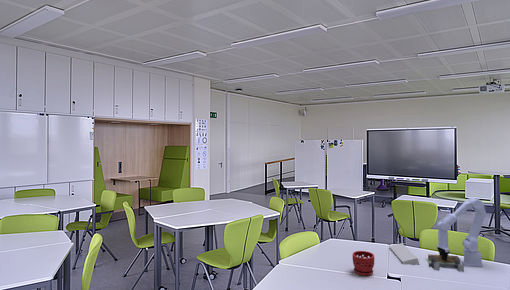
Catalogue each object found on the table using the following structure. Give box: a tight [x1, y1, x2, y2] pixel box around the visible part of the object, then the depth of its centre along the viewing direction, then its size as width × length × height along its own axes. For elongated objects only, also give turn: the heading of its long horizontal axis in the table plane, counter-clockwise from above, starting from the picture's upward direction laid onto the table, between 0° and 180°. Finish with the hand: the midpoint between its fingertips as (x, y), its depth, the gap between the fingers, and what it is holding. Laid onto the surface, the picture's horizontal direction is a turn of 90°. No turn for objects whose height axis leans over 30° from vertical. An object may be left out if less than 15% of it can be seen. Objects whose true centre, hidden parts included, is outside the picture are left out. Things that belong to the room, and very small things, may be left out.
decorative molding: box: [388, 242, 420, 266], centre depth 232 cm, size 34×5×10 cm
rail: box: [427, 253, 460, 263], centre depth 219 cm, size 18×4×4 cm, turn 78°
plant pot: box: [352, 250, 375, 277], centre depth 202 cm, size 13×13×12 cm
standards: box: [428, 257, 465, 273], centre depth 206 cm, size 20×6×6 cm, turn 78°
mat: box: [424, 258, 455, 264], centre depth 219 cm, size 20×9×1 cm, turn 78°
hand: (443, 259), depth 219 cm, fingers closed on rail, 3 cm apart
